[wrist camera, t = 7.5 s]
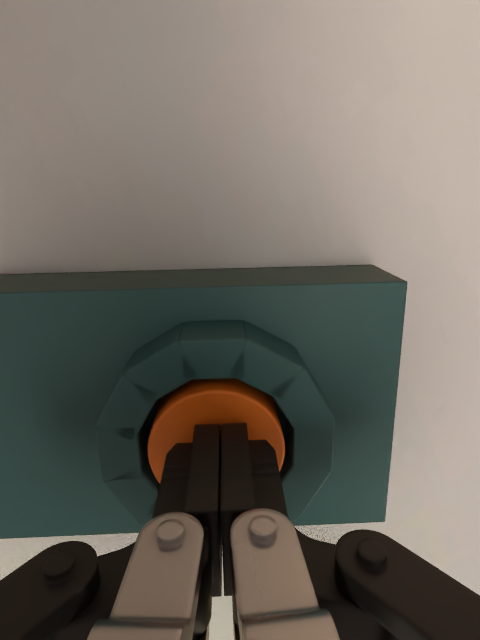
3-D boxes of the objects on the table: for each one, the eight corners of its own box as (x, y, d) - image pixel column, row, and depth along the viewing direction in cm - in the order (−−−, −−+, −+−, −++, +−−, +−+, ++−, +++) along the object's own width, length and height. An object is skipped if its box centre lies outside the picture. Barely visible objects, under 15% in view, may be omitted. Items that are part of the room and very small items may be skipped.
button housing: (36, 481, 18) (-31, 583, 14) (-3, 274, 16) (-101, 310, 11) (358, 468, 19) (405, 562, 14) (373, 264, 16) (436, 295, 11)
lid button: (160, 476, 15) (152, 513, 13) (151, 368, 13) (141, 393, 12) (277, 472, 15) (284, 508, 13) (278, 363, 14) (286, 388, 12)
